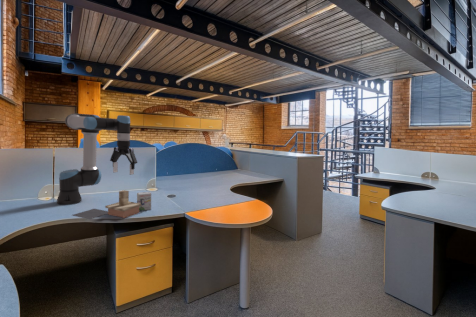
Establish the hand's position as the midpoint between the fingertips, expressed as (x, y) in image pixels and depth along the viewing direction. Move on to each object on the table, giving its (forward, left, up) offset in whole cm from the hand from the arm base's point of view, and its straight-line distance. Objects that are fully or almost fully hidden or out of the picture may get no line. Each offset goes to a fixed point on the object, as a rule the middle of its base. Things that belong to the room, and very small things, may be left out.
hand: (123, 173), depth 163 cm
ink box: (+5, +14, -27) cm, 31 cm away
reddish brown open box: (+1, 0, -27) cm, 27 cm away
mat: (-15, -10, -27) cm, 32 cm away
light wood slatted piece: (+1, 0, -22) cm, 22 cm away
